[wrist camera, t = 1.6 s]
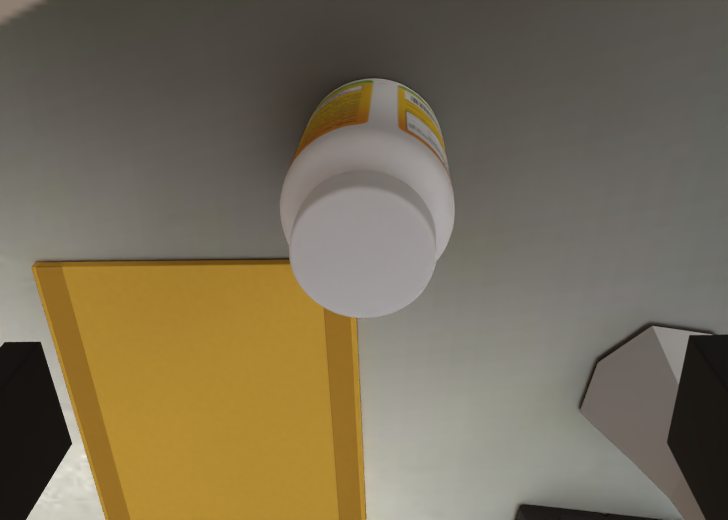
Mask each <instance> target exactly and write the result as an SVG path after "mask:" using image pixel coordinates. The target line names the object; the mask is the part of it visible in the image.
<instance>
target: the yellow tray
mask: <svg viewBox="0 0 728 520" xmlns="http://www.w3.org/2000/svg"><path fill="white" fill-rule="evenodd" d="M32 271H33V274H34V278H35V281H36V285H37V288H38V291H39V295H40V298H41V301H42V305H43V308H44V312H45V315H46V318H47V322H48V325H49V329H50V332H51V335H52V339H53V342H54V346H55V349H56V352H57V356H58V359H59V363H60V366H61V369H62V373H63V376H64V380H65V383H66V386H67V390H68V393H69V397H70V400H71V403H72V407H73V410H74V414H75V417H76V420H77V424H78V427H79V431H80V434H81V437H82V441H83V444H84V447H85V451H86V454H87V458H88V461H89V464H90V468H91V471H92V475H93V478H94V481H95V485H96V488H97V492H98V495H99V498H100V502H101V505H102V509H103V512H104V515H105V519H106V520H366V504H365V483H364V462H363V441H362V420H361V400H360V379H359V358H358V337H357V318H354V317H348V316H344V315H340V314H337V313H334V312H332V311H330V310H328V309H326V308H324V307H322V306H321V305H319V304H318V303H316V302H315V301H314V300H313V299H311V298H310V297H309V296H308V295H307V294H306V293H305V291H304V290H303V289H302V288H301V286H300V285H299V283H298V281H297V280H296V278H295V276H294V274H293V271H292V268H291V264H290V259H289V260H196V261H103V262H36V263H35V264H34V265H33V266H32Z"/></svg>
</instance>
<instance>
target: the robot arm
mask: <svg viewBox="0 0 728 520" xmlns="http://www.w3.org/2000/svg"><path fill="white" fill-rule="evenodd" d="M667 444H668V446H669V448H670V450H671V452H672V454H673V456H674V458H675V460H676V462H677V464H678V466H679V468H680V470H681V472H682V474H683V476H684V478H685V480H686V482H687V484H688V486H689V488H690V490H691V492H692V494H693V496H694V498H695V500H696V502H697V504H698V506H699V508H700V510H701V512H702V514H703V516H704V518H705V520H728V335H689V339H688V344H687V348H686V353H685V358H684V363H683V367H682V372H681V377H680V382H679V386H678V391H677V396H676V401H675V405H674V410H673V415H672V420H671V424H670V429H669V434H668V439H667ZM71 445H72V442H71V438H70V435H69V432H68V429H67V425H66V422H65V419H64V416H63V413H62V409H61V406H60V403H59V400H58V396H57V393H56V390H55V387H54V384H53V380H52V377H51V374H50V371H49V367H48V364H47V361H46V358H45V354H44V351H43V348H42V345H41V342H5V343H4V344H3V345H2V346H1V347H0V520H26V519H27V517H28V515H29V514H30V512H31V510H32V509H33V507H34V505H35V504H36V502H37V500H38V499H39V497H40V496H41V494H42V492H43V491H44V489H45V487H46V486H47V484H48V482H49V481H50V479H51V478H52V476H53V474H54V473H55V471H56V469H57V468H58V466H59V464H60V463H61V461H62V459H63V458H64V456H65V455H66V453H67V451H68V450H69V448H70V446H71Z"/></svg>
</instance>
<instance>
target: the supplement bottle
mask: <svg viewBox="0 0 728 520" xmlns="http://www.w3.org/2000/svg"><path fill="white" fill-rule="evenodd" d="M454 217H455V206H454V194H453V189H452V183H451V178H450V173H449V168H448V162H447V157H446V152H445V146H444V141H443V137H442V132H441V129H440V126H439V123H438V121H437V119H436V116H435V114H434V113H433V111H432V109H431V108H430V106H429V105H428V104H427V103H426V102H425V100H424V99H423V98H422V97H420V96H419V95H418V94H417V93H416V92H414V91H413V90H411V89H410V88H408V87H406V86H404V85H402V84H400V83H397V82H394V81H390V80H386V79H377V78H370V79H362V80H357V81H353V82H350V83H347V84H345V85H343V86H341V87H339V88H337V89H335V90H334V91H332V92H331V93H330V94H329V95H327V96H326V97H325V98H324V99H323V100H322V101H321V102H320V104H319V105H318V106H317V108H316V109H315V111H314V112H313V114H312V116H311V118H310V120H309V122H308V124H307V126H306V129H305V131H304V134H303V136H302V139H301V141H300V143H299V146H298V148H297V150H296V153H295V155H294V158H293V160H292V162H291V165H290V167H289V170H288V172H287V174H286V177H285V180H284V183H283V187H282V192H281V198H280V218H281V224H282V228H283V231H284V234H285V237H286V240H287V242H288V245H289V259H290V264H291V268H292V271H293V274H294V276H295V278H296V280H297V281H298V283H299V285H300V286H301V288H302V289H303V290H304V291H305V293H306V294H307V295H308V296H309V297H310V298H311V299H313V300H314V301H315V302H316V303H318V304H319V305H321V306H322V307H324V308H326V309H328V310H330V311H332V312H334V313H337V314H340V315H344V316H348V317H354V318H374V317H380V316H385V315H389V314H391V313H394V312H396V311H398V310H401V309H402V308H404V307H406V306H407V305H409V304H410V303H412V302H413V301H414V300H415V299H416V298H417V297H418V296H419V295H420V294H421V293H422V292H423V291H424V289H425V288H426V286H427V284H428V283H429V281H430V279H431V277H432V274H433V272H434V268H435V264H436V262H437V260H438V259H439V258H440V256H441V255H442V253H443V252H444V250H445V248H446V246H447V244H448V242H449V239H450V236H451V233H452V229H453V225H454Z"/></svg>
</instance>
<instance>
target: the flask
mask: <svg viewBox="0 0 728 520" xmlns="http://www.w3.org/2000/svg"><path fill="white" fill-rule="evenodd" d="M689 335H712V334H705V333H698V332H691V331H685V330H678V329H671V328H664V327H657V326H651V327H650V328H648V329H647V330H645V331H644V332H642V333H641V334H639V335H638V336H636V337H635V338H633V339H632V340H631V341H629V342H628V343H626V344H625V345H623V346H622V347H620V348H619V349H617V350H616V351H614V352H613V353H611V354H610V355H608V356H607V357H605V358H604V359H602V360H601V361H600V362H598V364H597V366H596V369H595V372H594V374H593V377H592V380H591V383H590V385H589V388H588V391H587V393H586V396H585V399H584V402H583V404H582V407H581V410H580V412H581V413H582V414H583V415H584V416H585V417H586V418H587V419H588V420H589V421H590V422H591V423H592V424H593V425H594V426H595V427H596V428H597V429H598V430H599V431H600V432H601V433H602V434H603V435H605V436H606V437H607V438H608V439H609V440H610V441H611V442H612V443H613V444H614V445H615V446H616V447H617V448H618V449H620V450H621V451H622V452H623V453H624V454H625V455H626V456H627V457H628V458H629V459H630V460H631V461H632V462H633V463H634V464H635V465H636V466H637V467H638V468H639V469H640V470H641V471H642V472H643V473H644V474H645V475H646V476H647V477H648V478H649V479H650V480H651V481H652V482H653V483H654V484H655V485H656V486H657V487H658V488H659V489H660V490H661V491H662V492H663V493H664V494H665V495H666V496H667V497H668V498H669V499H670V500H671V501H672V503H673V504H674V505H675V507H676V508H677V509H678V511H679V512H680V514H681V515H682V516H683V518H684V519H685V520H705V518H704V516H703V514H702V512H701V510H700V508H699V506H698V504H697V502H696V500H695V498H694V496H693V494H692V492H691V490H690V488H689V486H688V484H687V482H686V480H685V478H684V476H683V474H682V472H681V470H680V468H679V466H678V464H677V462H676V460H675V458H674V456H673V454H672V452H671V450H670V448H669V446H668V444H667V439H668V434H669V429H670V424H671V420H672V415H673V410H674V405H675V401H676V396H677V391H678V386H679V382H680V377H681V372H682V367H683V363H684V358H685V353H686V348H687V344H688V339H689Z"/></svg>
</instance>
